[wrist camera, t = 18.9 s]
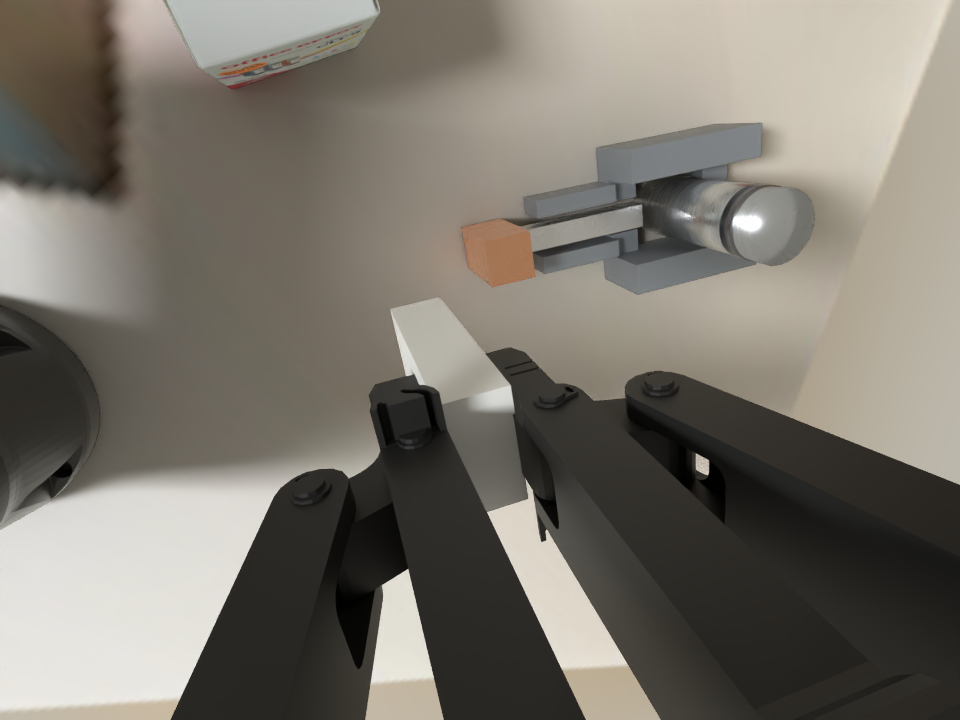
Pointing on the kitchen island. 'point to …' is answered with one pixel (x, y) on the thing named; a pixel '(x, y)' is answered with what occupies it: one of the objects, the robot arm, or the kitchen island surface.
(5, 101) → the kitchen island surface
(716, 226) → the grey cylinder
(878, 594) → the robot arm
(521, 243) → the pin
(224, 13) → the ink box
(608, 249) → the mount
